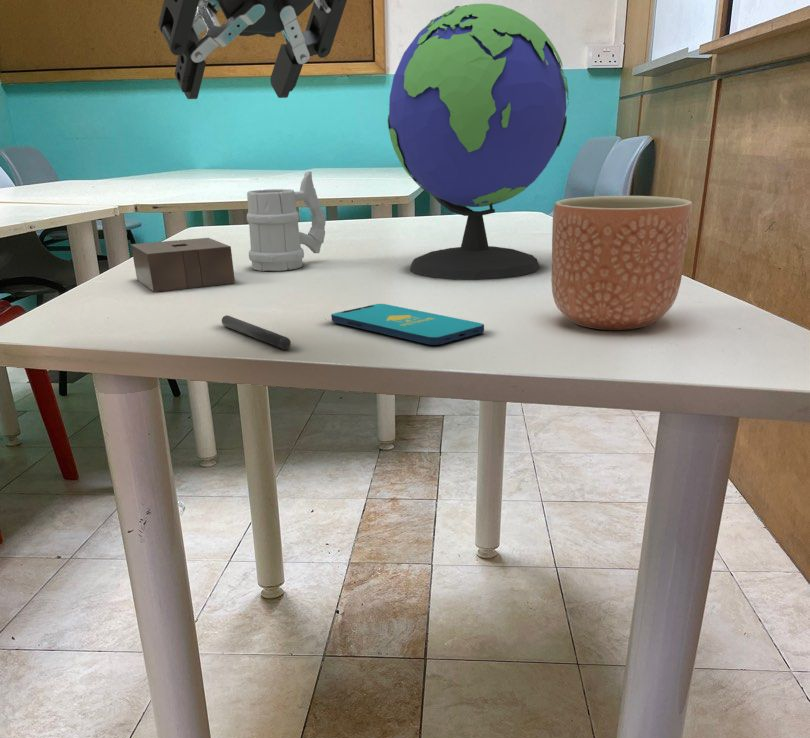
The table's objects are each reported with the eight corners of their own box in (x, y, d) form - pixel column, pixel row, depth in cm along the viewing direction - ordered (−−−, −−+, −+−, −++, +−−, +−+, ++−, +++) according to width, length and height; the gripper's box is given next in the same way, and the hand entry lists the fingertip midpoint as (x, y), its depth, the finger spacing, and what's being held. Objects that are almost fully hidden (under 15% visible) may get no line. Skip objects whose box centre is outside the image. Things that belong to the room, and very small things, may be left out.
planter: (523, 317, 82) (528, 200, 77) (622, 304, 86) (633, 193, 81) (596, 344, 72) (608, 212, 67) (705, 327, 76) (724, 202, 71)
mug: (240, 267, 114) (230, 174, 109) (313, 258, 120) (307, 169, 115) (264, 273, 109) (255, 176, 103) (340, 264, 115) (334, 171, 109)
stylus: (230, 324, 82) (293, 349, 73) (220, 326, 82) (283, 351, 72) (228, 313, 82) (292, 336, 72) (218, 315, 81) (281, 339, 72)
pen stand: (153, 292, 99) (147, 253, 97) (136, 280, 107) (130, 244, 105) (235, 283, 103) (230, 246, 101) (213, 272, 111) (208, 237, 109)
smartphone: (434, 336, 72) (327, 312, 81) (434, 346, 72) (327, 321, 82) (488, 324, 76) (380, 302, 86) (488, 332, 76) (381, 310, 86)
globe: (369, 280, 103) (356, -2, 89) (417, 253, 122) (413, 17, 108) (545, 285, 97) (561, -17, 83) (567, 256, 116) (584, 6, 102)
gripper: (351, -131, 60) (287, 58, 74) (170, -162, 53) (135, 55, 66) (396, -56, 59) (323, 123, 72) (217, -76, 51) (172, 128, 65)
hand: (233, 91), depth 69 cm, fingers open, 8 cm apart
